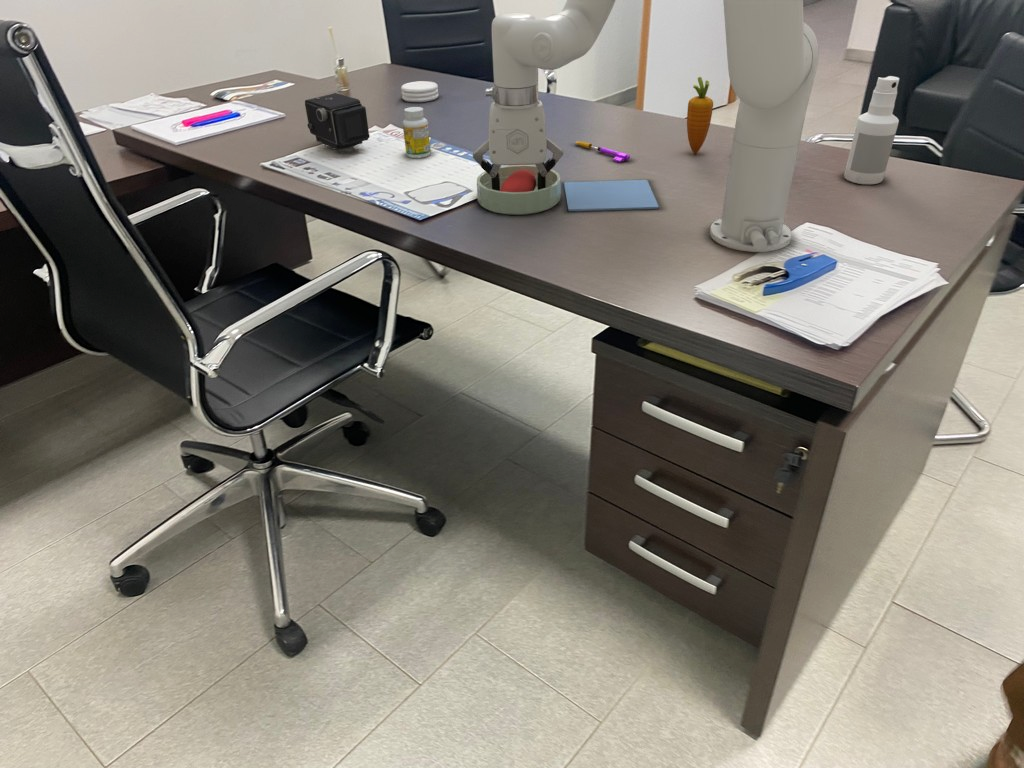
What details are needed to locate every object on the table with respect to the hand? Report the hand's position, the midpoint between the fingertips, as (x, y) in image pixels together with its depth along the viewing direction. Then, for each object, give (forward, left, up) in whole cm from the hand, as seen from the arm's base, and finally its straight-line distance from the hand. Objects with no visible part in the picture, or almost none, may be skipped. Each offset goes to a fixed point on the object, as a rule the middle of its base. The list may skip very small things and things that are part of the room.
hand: (518, 195), depth 132 cm
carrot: (+23, -37, -1) cm, 44 cm away
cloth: (0, -17, -1) cm, 17 cm away
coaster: (+78, +27, -1) cm, 83 cm away
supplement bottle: (+28, +22, -1) cm, 36 cm away
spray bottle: (+5, -65, -1) cm, 65 cm away
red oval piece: (0, 0, -1) cm, 1 cm away
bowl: (0, 0, -1) cm, 1 cm away
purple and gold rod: (+25, -17, -1) cm, 31 cm away
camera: (+34, +40, -1) cm, 53 cm away
